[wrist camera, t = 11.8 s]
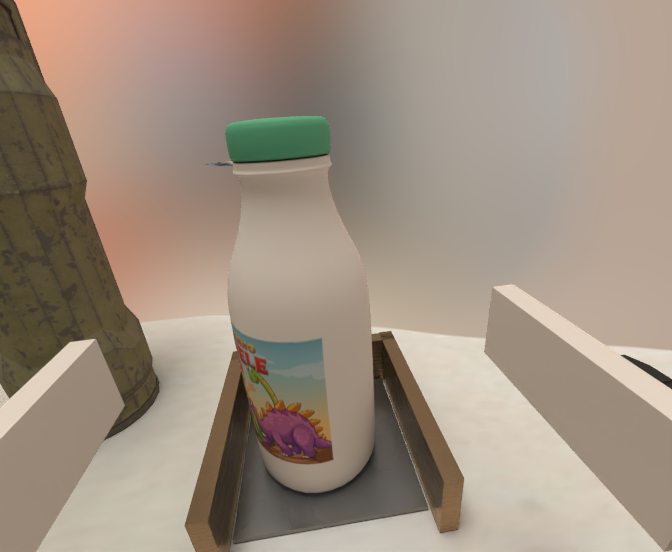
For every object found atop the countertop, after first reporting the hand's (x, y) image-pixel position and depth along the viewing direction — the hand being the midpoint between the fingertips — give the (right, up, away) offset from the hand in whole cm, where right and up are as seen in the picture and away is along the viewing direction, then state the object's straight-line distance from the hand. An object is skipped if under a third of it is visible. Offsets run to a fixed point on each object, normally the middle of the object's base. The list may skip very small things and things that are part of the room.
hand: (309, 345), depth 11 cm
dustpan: (0, -9, +12) cm, 15 cm away
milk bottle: (0, -9, +11) cm, 15 cm away
